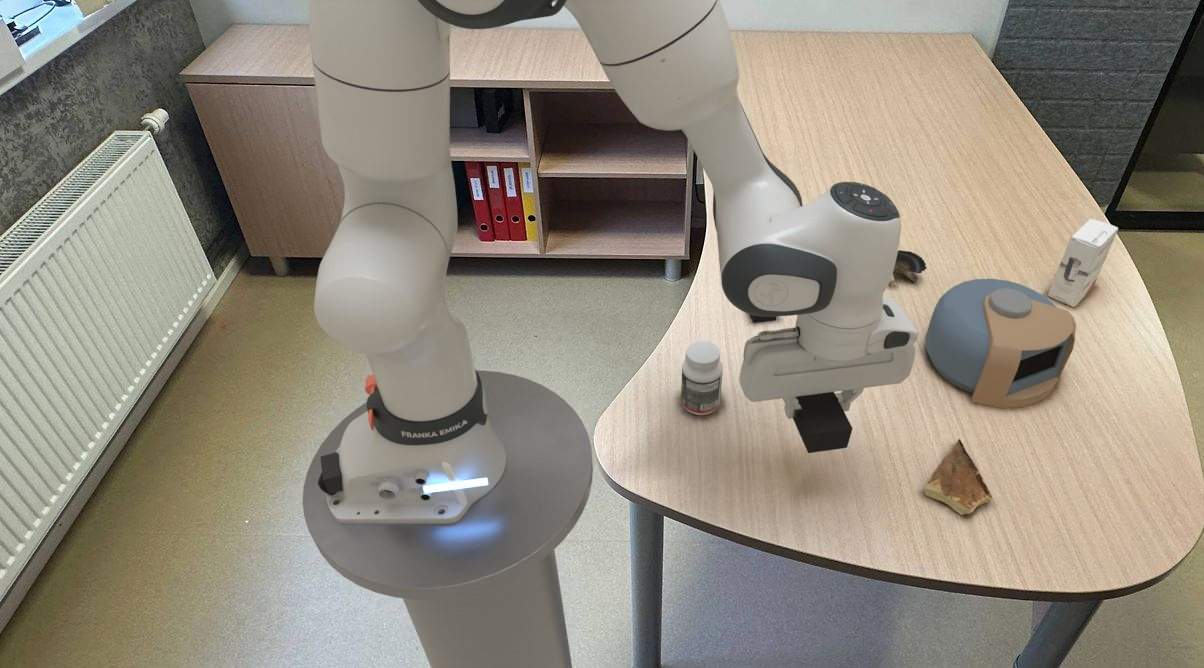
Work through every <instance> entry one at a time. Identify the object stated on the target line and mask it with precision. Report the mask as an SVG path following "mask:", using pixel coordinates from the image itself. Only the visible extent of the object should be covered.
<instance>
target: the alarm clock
mask: <svg viewBox="0 0 1204 668" xmlns="http://www.w3.org/2000/svg"><path fill="white" fill-rule="evenodd" d="M1076 329H1077V325H1076V319H1075V317H1074V316H1073V314H1071V312H1069V310H1067V309H1063V308H1061V307H1058V306H1056V305H1055V304H1054V303H1053V302H1052V301H1051V300H1050V299H1049V298H1048V297H1046V296H1045V295H1043V294H1041V293H1039V292H1038V291H1036V290H1035V289H1032V288H1030V287H1028V286H1026V285H1023V284H1021V283H1017V282H1013V281H1010V280H1004V279H997V278H976V279H971V280H965V281H962V282H960V283H958V284H956V285H954V286H952V287H950V288H949V289H948V290H947V291H946V292H945V293H944V294H942V295H941V297H940V298H939V300H938V301H937V303H936V305H935V306H934V309H933V312H932V314H931V317H930V321H929V324H928V327H927V330H926V333H925V336H924V343H925V344H924V345H925V349H926V351H927V354H928V356H929V359H930V362H931V363H932V365H933V367H934V369H935V370H936V371H937V372H938V373H939V374H940V375H941V377H943V378H944V379H945V380H947V381H948V382H949V383H951V384H952V385H954V386H956V387H957V388H960V389H961V390H964V391H965V392H967V393H971V394H972V396H971V402H972V403H974V404H979V405H983V406H989V407H994V408H1000V409H1017V408H1019V409H1021V408H1024V407H1027V406H1030V405H1034V404H1036V403H1038V402H1041V401H1042V400H1044V399H1046V398H1048V397H1049V395H1050V394H1051V393H1052V392H1053V390H1054V389H1055V387H1056V385H1057V383H1058V381H1059V380H1060V377H1061V375H1062V373H1063V371H1064V369H1065V367H1066V365H1067V362H1068V360H1069V359H1070V356H1071V354H1072V352H1073V350H1074V347H1075V341H1076V332H1077V331H1076Z"/></svg>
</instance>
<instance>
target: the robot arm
mask: <svg viewBox="0 0 1204 668" xmlns="http://www.w3.org/2000/svg"><path fill="white" fill-rule="evenodd" d="M554 2H555V3H554ZM553 3H554V5H553ZM563 7H564V8H565V9H566V10H568V12H569V13H570V14H571V15H572V17H573V18H574V19H575V21H576V22H577V24H578V25H579V27H580V29H581V31H582V32H583V33H584V35H585V38H586V39H587V41H588V44H590V47H591V49H592V51H593V53H594V54H595V57H596V58H597V61H598V62H599V64H600V66H601V68H602V70H603V72H604V74H605V75H606V77H607V79H608V81H609V83H610V84H611V86H612V87H613V89H614V91H615V93H616V94H617V95H618V96H619V98H620V100H622V102H623V103H624V105H625V106H626V107H627V109H628V110H629V111H630V112H631V113H632V114H633V116H634V117H635V118H636V119H637V121H638V122H639V123H640V124H642V125H644V126H647V127H648V128H652V129H655V130H659V131H680V130H681V131H682V132H683V134H684V135H685V137H686V138H687V140H688V142H689V145H690V146H691V148H692V150H693V151H694V154H695V155H696V157H697V159H698V161H699V163H700V164H701V167H702V168H703V171H704V173H705V174H706V176H707V178H708V179H709V181H710V184H711V186H712V191H713V195H712V215H713V223H714V227H715V231H716V240H717V249H718V262H719V272H720V280H721V281H720V282H721V288H722V292H723V293H724V295H725V297H726V299H727V301H729V303H731V304H732V305H733V306H734V307H735V308H736V309H738V310H739V311H741V312H743V313H746V314H749V315H750V314H751V315H755V316H762V317H776V316H777V317H791V316H796V319H795V326H794V327H787V328H780V329H776V330H762V331H759V332H758V333H757V334H756V335H754V336H752V337H751V338H749V339H747V340H746V341H745V343H744V347H743V357H742V358H743V360H742V363H741V367H740V371H739V376H738V379H739V385H740V387H741V390H742V393H743V395H744V397H746V398H747V399H748V401H750V402H752V403H755V402H756V403H759V402H764V401H765V402H766V401H773V400H781V399H782V401H783V403H784V407H783V409H784V414H785V416H786V419H787V420H790V419H793V418H797V417H800V412H801V409H802V408H801V406H800V405H799V404H798V403H799V402H798V400H797V399H795V398H796V397H797V396H805V395H813V394H821V393H828V392H834V393H835V395H836V397H837V399H838V401H839V403H840V405H841V407H842V409H843V410H844V412H848V411H850V408H851V406H852V405H851V404H852V402H853V403H854V401H855V400H856V399H857V398H858V397H859V396H860V395H861V394H863V393H864V389H866V388H867V389H868V388H874V387H875V388H876V387H883V386H891V385H898V384H901V383H903V382H904V381H905V380H906V379H908V378H909V377H910V375H911V373H912V369H913V365H914V361H915V358H916V345H915V343H916V342H917V340H918V337H919V331H918V329H917V327H916V324H915V323H914V321H913V320H912V318H911V317H910V315H909V313H908V312H907V311H906V310H905V308H904V307H903V305H902V304H901V303H900V302H899V301H898V300H897V299H896V298H894V297H892V296H885V295H884V293H885V291H886V290H887V288H888V286H889V285H890V281H891V278H892V274H893V275H894V272H893V270H894V267H895V262H896V258H897V253H898V250H899V248H900V247H899V246H900V240H901V234H902V218H901V214H900V212H899V210H898V208H897V206H896V205H895V203H894V202H893V201H892V199H890V197H889V196H888V195H886V194H885V193H883V192H882V191H880V190H878V189H877V188H875V187H874V186H871V185H869V184H865V183H862V182H857V181H841V182H837V183H834V184H833V185H831V186H830V187H829V188H828V189H827V190H826V191H824V193H822V194H821V195H819V196H818V197H816V198H815V199H813V200H812V201H811V200H810V201H809V202H808V203H806V204H803V199H802V195H801V193H800V190H799V189H798V187H797V185H796V184H795V182H794V181H792V179H790V177H789V176H787V174H785V173H784V172H783V171H782V170H781V169H779V168H778V167H777V166H776V165H775V164H774V163H772V162H771V161H770V160H769V158H768V157H767V156H766V154H764V151H763V150H762V147H761V145H760V143H759V140H758V138H757V136H756V134H755V132H754V129H753V127H752V125H751V123H750V121H749V119H748V116H747V113H746V112H745V110H744V107H743V105H742V102H741V99H740V96H739V92H738V85H739V81H740V72H739V64H738V59H737V54H736V50H735V45H734V40H733V37H732V34H731V30H730V26H729V24H728V20H727V18H726V14H725V12H724V9H723V6H722V3H721V1H720V0H308V11H309V12H308V19H309V22H308V23H309V39H310V51H311V61H312V70H313V79H314V80H313V81H314V88H315V97H316V107H317V113H318V123H319V131H320V139H321V144H322V147H323V149H324V151H325V153H326V155H327V156H328V157H329V158H330V159H331V160H332V161H333V162H334V163H335V164H336V165H337V167H338V170H339V173H340V176H341V179H342V183H343V189H344V202H343V208H342V213H341V217H340V220H339V223H338V225H337V227H336V230H335V233H334V235H333V236H332V239H331V241H330V243H329V245H328V247H327V249H326V251H325V253H324V255H323V257H322V258H321V259H322V260H321V261H320V263H319V267H318V272H317V276H316V284H315V292H314V301H313V310H314V315H315V319H316V321H317V323H318V325H319V327H320V328H321V329H322V331H323V332H324V333H325V334H326V336H328V337H329V338H330V339H331V340H332V341H334V342H335V343H336V344H338V345H340V346H341V347H342V348H344V349H347V350H349V351H351V352H353V353H357V354H361V355H365V357H366V359H367V361H368V363H369V366H370V369H371V372H372V374H369V375H367V376H366V378H365V387H364V392H365V393H366V394H367V395H369V396H368V397H367V399H366V402H367V411H366V412H365V413H363V414H362V415H360V416H359V417H357V418H356V419H354V420H353V421H352V422H351V423H350V424H349V425H348V427H347V428H346V430H345V432H344V435H343V437H342V440H341V444H340V447H339V448H338V449H337V451H336V452H335V453H331V454H328V455H324V456H321V457H320V458H321V467H322V473H321V475H320V478H319V480H318V485H319V487H320V489H321V490H322V491H324V492H325V493H326V497H327V503H328V506H329V510H330V512H331V514H332V516H333V517H334V519H335V520H336V521H337V522H338V523H341V524H451V523H455V522H457V521H459V520H460V519H461V518H462V517H463V516H464V514H465V513H466V512H467V510H468V509H469V507H470V506H471V505H472V504H473V503H474V502H476V501H477V500H478V499H480V498H481V497H483V496H484V495H486V494H487V493H488V492H489V491H491V490H492V489H493V488H494V486H495V485H496V484H497V483H498V482H499V480H500V479H501V477H502V475H503V473H504V470H505V467H506V452H505V448H504V446H503V444H502V443H501V441H500V440H499V439H498V437H497V436H496V434H495V433H494V431H493V429H492V427H491V424H490V422H489V419H488V417H487V413H488V407H487V401H486V396H485V391H484V387H483V385H482V383H481V379H480V376H479V374H478V372H477V371H478V370H477V369H476V368H475V367H476V366H475V364H474V363H475V362H474V359H473V353H472V349H471V344H470V340H469V335H468V331H467V328H466V326H465V324H464V323H463V321H461V319H459V318H458V317H457V316H456V315H455V314H452V313H451V312H450V310H449V307H448V304H447V299H446V278H447V272H448V267H449V261H450V259H451V255H452V252H453V247H454V245H455V241H456V238H457V235H458V220H459V219H458V203H457V195H456V184H455V177H454V172H453V171H454V170H453V165H452V157H451V122H450V121H451V30H452V29H451V27H452V26H454V27H458V28H461V29H468V30H487V29H495V28H500V27H504V26H507V25H511V24H513V23H517V22H521V21H528V20H534V19H543V18H547V17H548V18H549V17H553V16H555V15H557V14H559V12H561V10H562V9H563ZM777 317H776V318H777ZM836 392H837V393H836ZM337 503H339V504H338V505H336V504H337ZM442 512H444V514H440V513H442Z"/></svg>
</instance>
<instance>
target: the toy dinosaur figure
mask: <svg viewBox="0 0 1204 668" xmlns="http://www.w3.org/2000/svg"><path fill="white" fill-rule="evenodd" d="M927 269H928V267H927V263H926V262H925V260H924V259H923V257H921V256H920V255H918V254H917V253H915V252H913V251H909V250H901V249H898V253H897V258H896V262H895V267H894V270H893V274H892V278H891V281H890V283H889V285H890V288H893V286H894V284H895V277H894V273H898V274H901V275H903V276H905V277H906V278H908V279H910V280H911V281H912V282H917V281H918V280H919V278H918V276H917V275H916V274H921V273H923V272H925V270H927Z"/></svg>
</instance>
